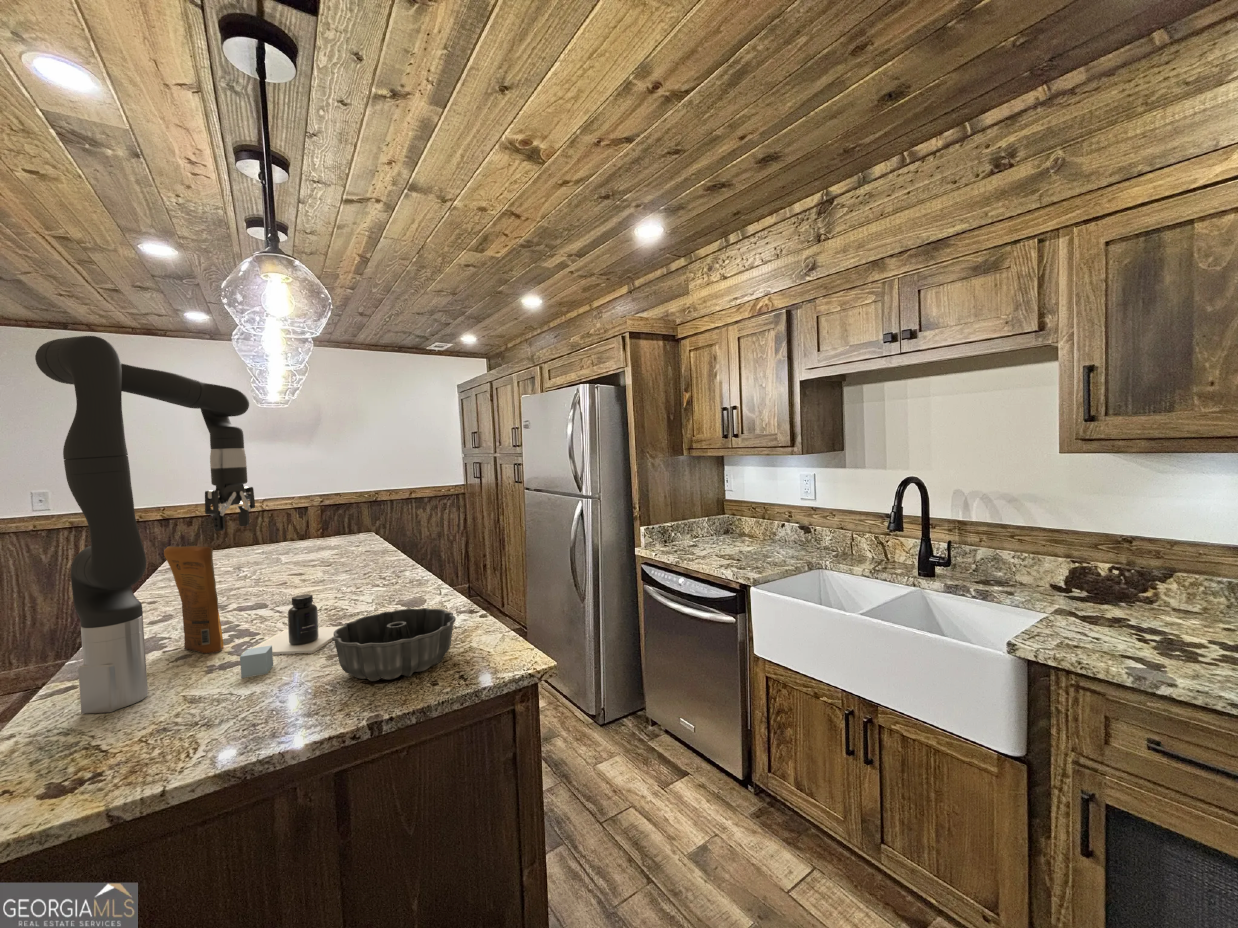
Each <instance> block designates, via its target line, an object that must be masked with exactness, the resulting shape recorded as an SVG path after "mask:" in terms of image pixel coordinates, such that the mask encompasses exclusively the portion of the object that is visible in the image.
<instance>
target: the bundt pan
mask: <svg viewBox="0 0 1238 928" xmlns="http://www.w3.org/2000/svg"><path fill="white" fill-rule="evenodd" d="M456 618H457V617H456V616H455V615H454V612H450V611H447V610H445V609H444V608H443V609H442V608H429V607H421V608H404V609H403V608H402V609H398V610H392V611H383V612H380V613H376V614H370V615H366V616H362V617H359V618H357V619H355V620H353V621H350V622H347V623H344V624H343V627H340V628H338V629H337V630H335V631H334V637H332V641H331V642H334V644H335V648H336V649H335V650H336V654H337V658H338V663H339V666H340V668H341V669H342V670H343V672H345V673H346V674H348V675H351V676H353V677H354V678H357V679H360V680H361V679H362V680H365V679H366V680H369V681H370V682H377V681H379V680H380V679H383V680H394V679H396V678H399V677H400V676H401V675H402V676H404V677H406V678H409V677H411V676H412V675H413V673H414V672H417V673H420V672H424V671H426V670H428V669H429V668H430V667H433V666H436V665H438V664H439V663H440V662H442V661H443V659H444V657H445V656H446V654H447V653H448V651H449V650H450V647H451V644H452V638H453V637H452V636H453V629H454V623H455V622H456Z"/></svg>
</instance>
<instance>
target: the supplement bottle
mask: <svg viewBox="0 0 1238 928" xmlns="http://www.w3.org/2000/svg"><path fill="white" fill-rule="evenodd" d="M313 603H314V598H313V594H311V593H310V594H305V593H304V594H300V595H295V596H293V597H291V606H292V607H290V608H289V609H288V611H287V627H288V628H287V629H288V634H289V643H290V644H291V645H302V644H307V643H311V642H313V641H315V640H317V639H318V627H319V615H318V614H319V613H318V612H319V611H318V606H317V605H316V604H313Z"/></svg>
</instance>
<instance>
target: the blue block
mask: <svg viewBox="0 0 1238 928" xmlns="http://www.w3.org/2000/svg"><path fill="white" fill-rule="evenodd" d="M250 648H251V649H250ZM250 648H247V649H246V650H245V651H243V652H244V653H243V652H242V653H243V654H241V655H240V656H239V663H240V675H241V677H240V678H241V679H243V678H249V677H255V676H261V675H267V674H268V673H269V672H270V671H269V670H271V669H272V668H273V667H274V657H273V656H274V655H273V653H272V646H265V647H258V648H252V647H250ZM272 666H273V667H272ZM268 671H269V672H268Z"/></svg>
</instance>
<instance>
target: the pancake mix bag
mask: <svg viewBox="0 0 1238 928" xmlns="http://www.w3.org/2000/svg"><path fill="white" fill-rule="evenodd" d="M213 551H214V548H211V547H209V546H204V545H202V546H201V545H186V546H169V545H168V546H167V547H166V548H165V549H164V550H163V555H164V558H165V559H166V562H167V563H168V565H169V567H170V570H171V573H172V576H173V578H174V582H175V585H176V586H175V587H177V591H178V593H179V597H180V601H181V614H182V623H183V624H182V625H183V633H184V637H183V639H184V649H185V650H190V651H194V652H198V653H200V654H212V653H218V652H222V651H223V649H224V648H225V647H224V639H223V638H224V637H223V630H222V624H221V623H222V622H221V619H220V611H219V597H218V593H217V592H218V591H217V583H216V576H215V569H214V568H215V567H214V558H213V557H214V556H213V555H214V553H213Z"/></svg>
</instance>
